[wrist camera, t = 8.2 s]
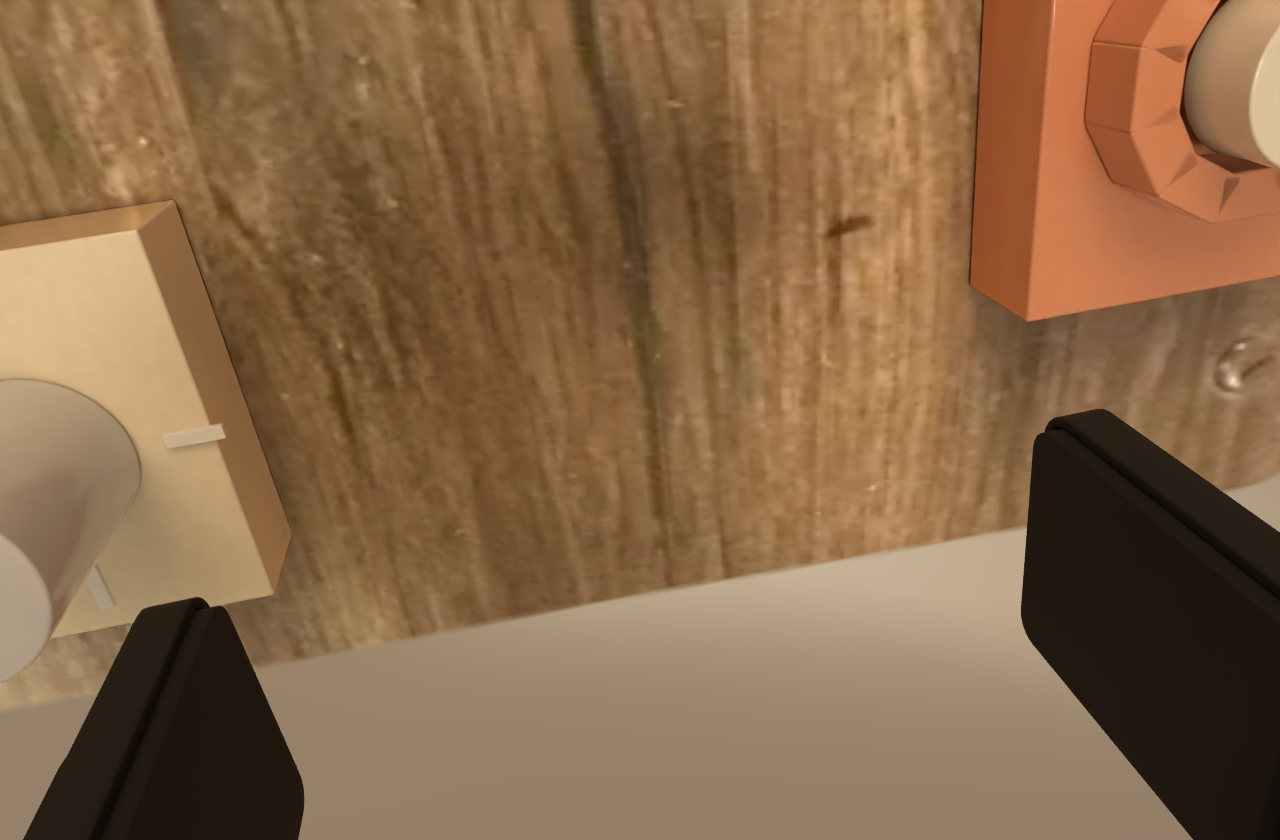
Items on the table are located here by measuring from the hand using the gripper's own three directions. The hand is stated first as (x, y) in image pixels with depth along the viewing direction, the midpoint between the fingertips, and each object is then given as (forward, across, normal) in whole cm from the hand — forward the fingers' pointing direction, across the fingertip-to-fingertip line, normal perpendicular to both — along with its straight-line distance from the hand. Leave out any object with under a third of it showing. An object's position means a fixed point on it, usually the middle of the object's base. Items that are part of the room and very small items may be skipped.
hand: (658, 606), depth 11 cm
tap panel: (+16, +13, +2) cm, 21 cm away
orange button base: (+16, -17, -2) cm, 23 cm away
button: (+11, -17, -2) cm, 20 cm away
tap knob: (+13, +13, +2) cm, 18 cm away
